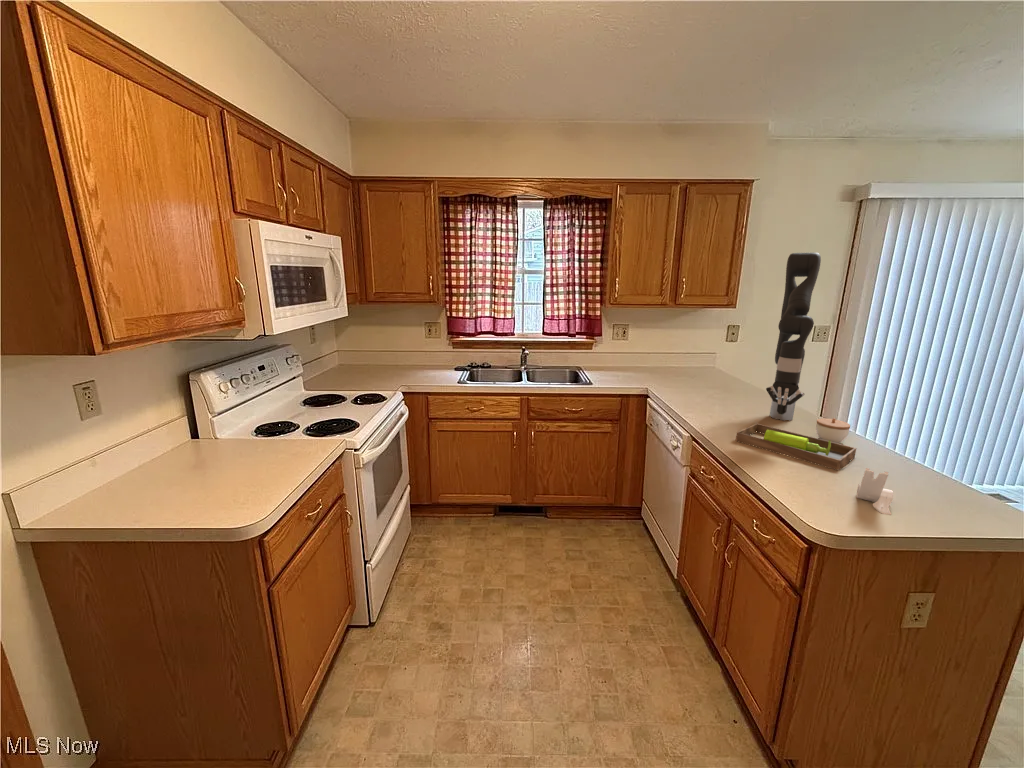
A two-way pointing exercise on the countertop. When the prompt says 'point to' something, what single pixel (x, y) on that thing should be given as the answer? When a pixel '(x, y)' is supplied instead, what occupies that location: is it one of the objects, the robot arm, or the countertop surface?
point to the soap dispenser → (795, 442)
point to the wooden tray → (834, 460)
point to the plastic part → (875, 491)
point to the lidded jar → (832, 429)
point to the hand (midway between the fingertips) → (781, 413)
